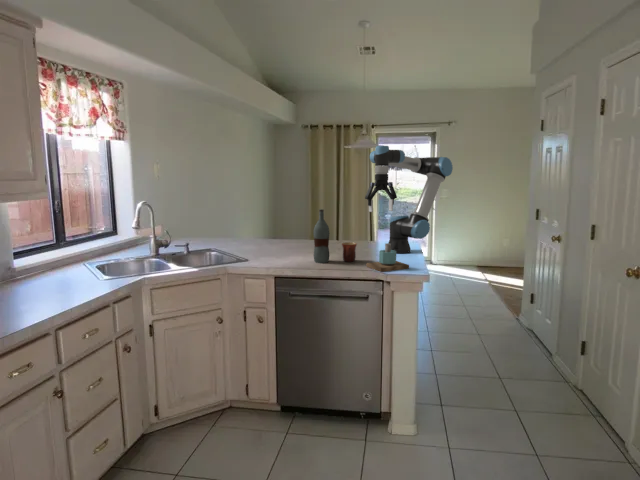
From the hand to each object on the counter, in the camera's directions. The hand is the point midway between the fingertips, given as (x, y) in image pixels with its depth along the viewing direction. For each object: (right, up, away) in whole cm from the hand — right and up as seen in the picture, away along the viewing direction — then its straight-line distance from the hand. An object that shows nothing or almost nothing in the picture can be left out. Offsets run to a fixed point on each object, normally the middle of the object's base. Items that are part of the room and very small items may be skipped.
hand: (380, 211), depth 259 cm
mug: (-18, -29, +1) cm, 34 cm away
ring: (+2, -28, -15) cm, 32 cm away
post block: (+2, -31, -14) cm, 35 cm away
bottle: (-34, -29, +1) cm, 45 cm away
